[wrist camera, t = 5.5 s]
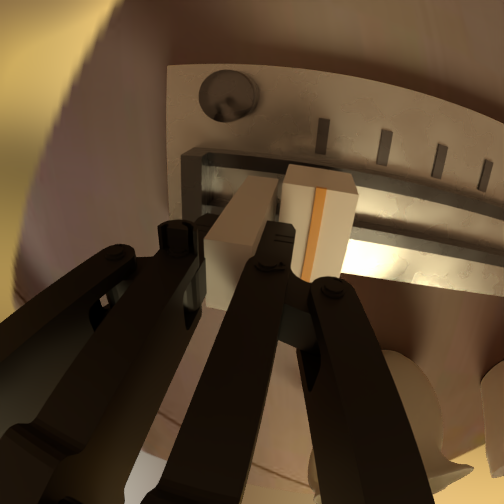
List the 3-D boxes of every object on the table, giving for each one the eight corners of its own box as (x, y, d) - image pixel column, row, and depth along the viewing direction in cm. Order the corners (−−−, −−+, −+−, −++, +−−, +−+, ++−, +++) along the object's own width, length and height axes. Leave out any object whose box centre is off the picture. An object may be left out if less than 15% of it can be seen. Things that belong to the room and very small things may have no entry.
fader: (284, 226, 18) (271, 278, 14) (292, 152, 16) (282, 183, 12) (333, 233, 18) (337, 289, 14) (346, 161, 16) (359, 195, 11)
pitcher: (277, 397, 32) (254, 511, 20) (392, 294, 22) (422, 463, 10) (351, 424, 32) (346, 524, 21) (467, 341, 23) (502, 468, 11)
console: (182, 232, 23) (159, 261, 19) (181, 66, 16) (150, 64, 13) (536, 289, 19) (554, 317, 15) (581, 169, 12) (610, 187, 9)
